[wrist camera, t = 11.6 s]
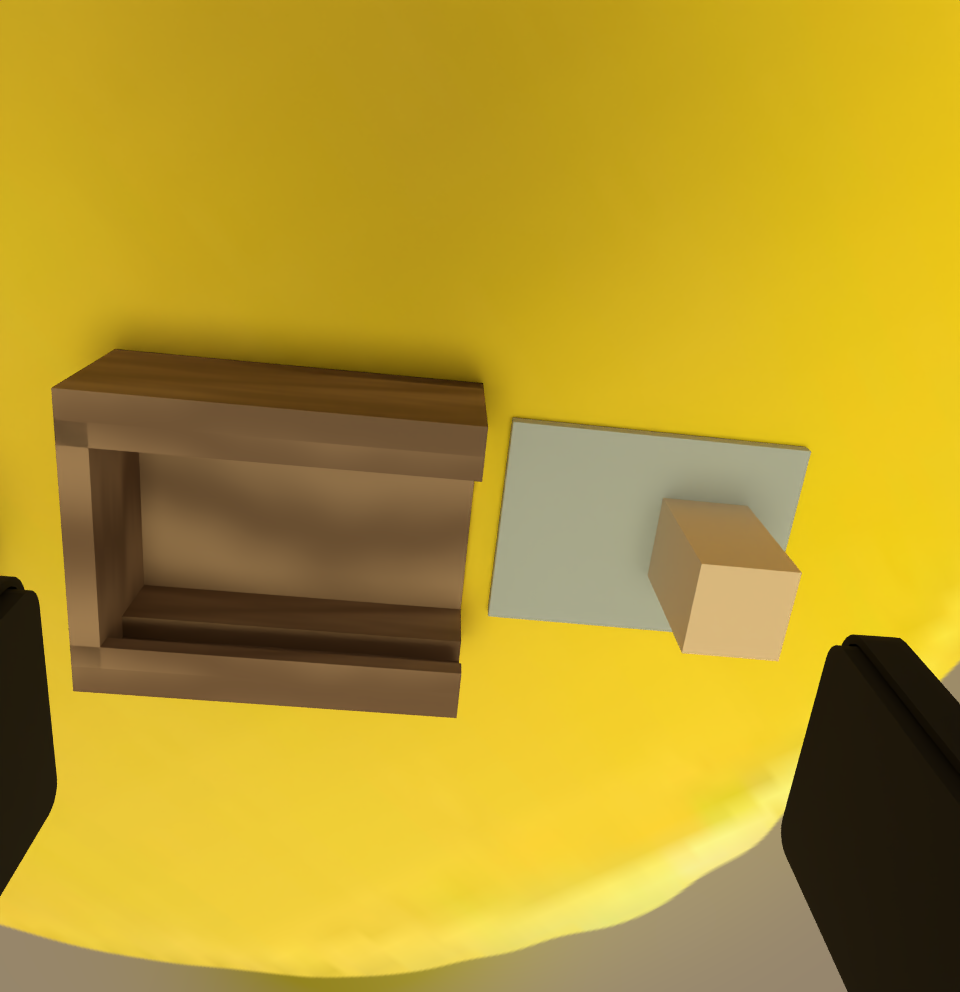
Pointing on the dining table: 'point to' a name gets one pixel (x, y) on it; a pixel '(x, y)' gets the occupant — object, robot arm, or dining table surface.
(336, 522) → the walnut box
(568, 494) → the cover plate
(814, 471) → the dining table surface
